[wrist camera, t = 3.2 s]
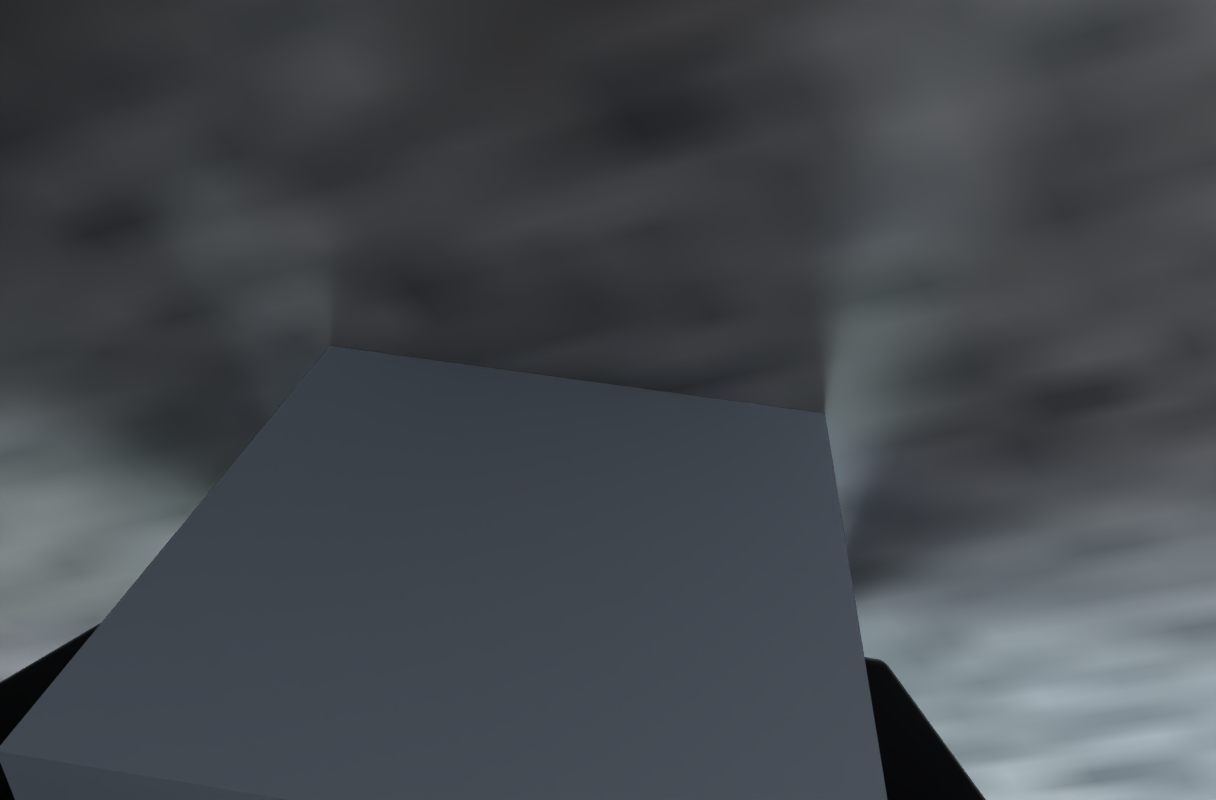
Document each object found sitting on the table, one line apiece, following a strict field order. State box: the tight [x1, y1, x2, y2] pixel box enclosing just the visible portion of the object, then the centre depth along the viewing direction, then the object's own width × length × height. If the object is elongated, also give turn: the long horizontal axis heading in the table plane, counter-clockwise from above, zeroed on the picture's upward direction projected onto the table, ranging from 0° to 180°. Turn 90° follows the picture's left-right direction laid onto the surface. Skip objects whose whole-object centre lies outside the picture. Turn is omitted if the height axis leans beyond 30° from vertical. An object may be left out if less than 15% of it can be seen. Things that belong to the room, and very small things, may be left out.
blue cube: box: [0, 346, 887, 800], centre depth 8 cm, size 5×5×5 cm
